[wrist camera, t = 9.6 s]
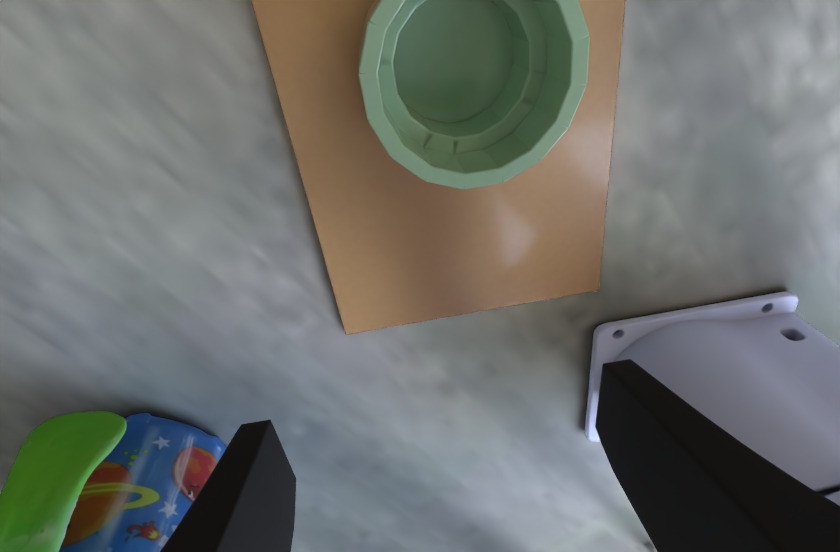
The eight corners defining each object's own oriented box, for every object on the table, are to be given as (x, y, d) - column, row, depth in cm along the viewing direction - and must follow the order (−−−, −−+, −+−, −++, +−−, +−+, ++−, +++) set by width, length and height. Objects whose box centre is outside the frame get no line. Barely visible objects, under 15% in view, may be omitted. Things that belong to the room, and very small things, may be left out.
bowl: (535, -66, 13) (598, -83, 10) (535, 130, 16) (582, 170, 13) (341, -35, 13) (336, -42, 10) (377, 157, 16) (382, 204, 13)
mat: (664, -513, 10) (675, -530, 9) (595, 286, 20) (599, 290, 20) (130, -441, 9) (121, -458, 9) (345, 329, 20) (345, 335, 20)
